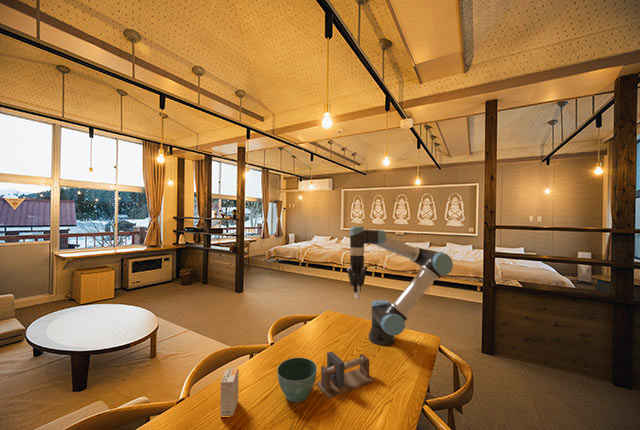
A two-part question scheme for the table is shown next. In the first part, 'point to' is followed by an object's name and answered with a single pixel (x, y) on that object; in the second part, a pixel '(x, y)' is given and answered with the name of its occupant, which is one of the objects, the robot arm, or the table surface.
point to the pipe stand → (345, 377)
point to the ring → (339, 364)
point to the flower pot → (297, 378)
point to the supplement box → (229, 392)
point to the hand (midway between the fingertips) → (357, 298)
